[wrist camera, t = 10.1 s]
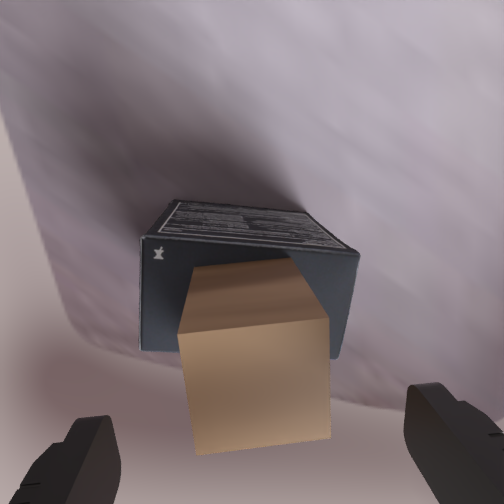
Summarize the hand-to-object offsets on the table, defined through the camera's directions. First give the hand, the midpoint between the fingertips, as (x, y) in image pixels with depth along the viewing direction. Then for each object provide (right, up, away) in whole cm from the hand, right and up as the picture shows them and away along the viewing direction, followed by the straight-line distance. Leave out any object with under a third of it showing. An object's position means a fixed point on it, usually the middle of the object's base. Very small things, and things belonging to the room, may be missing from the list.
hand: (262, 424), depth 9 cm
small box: (-1, +5, +17) cm, 18 cm away
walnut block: (-1, +2, +7) cm, 8 cm away
